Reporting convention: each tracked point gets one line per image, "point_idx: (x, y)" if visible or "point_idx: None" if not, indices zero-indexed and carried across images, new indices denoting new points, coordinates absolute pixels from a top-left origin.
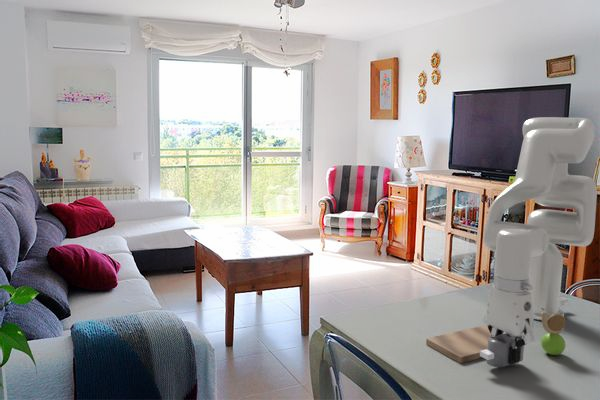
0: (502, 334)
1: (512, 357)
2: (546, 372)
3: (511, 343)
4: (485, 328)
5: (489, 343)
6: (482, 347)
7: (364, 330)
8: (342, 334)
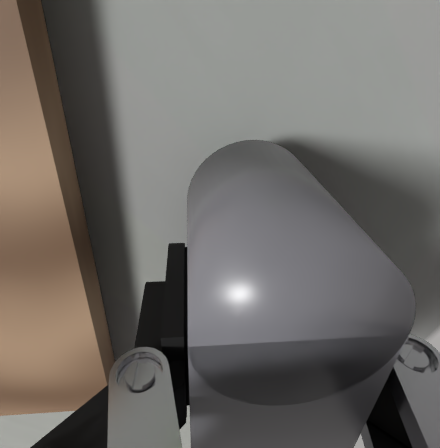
0: (196, 417)
1: None
2: (433, 82)
3: (366, 441)
4: None
5: None
6: (23, 259)
7: None
8: None
